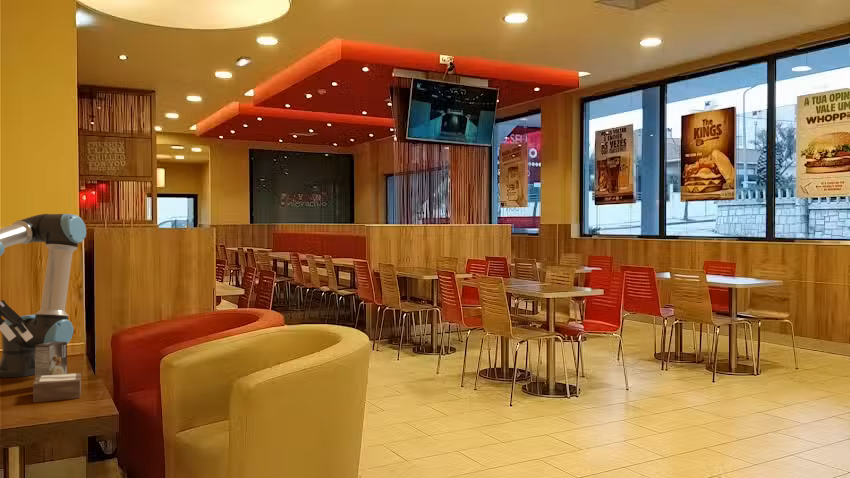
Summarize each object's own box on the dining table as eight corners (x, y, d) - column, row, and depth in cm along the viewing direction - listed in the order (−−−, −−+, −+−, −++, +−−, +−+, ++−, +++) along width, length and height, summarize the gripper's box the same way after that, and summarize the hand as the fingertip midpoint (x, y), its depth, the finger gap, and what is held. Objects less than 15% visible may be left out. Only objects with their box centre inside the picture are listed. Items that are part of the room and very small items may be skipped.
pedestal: (36, 393, 243) (36, 375, 243) (81, 389, 249) (81, 372, 249) (33, 402, 230) (33, 383, 230) (79, 398, 236) (79, 379, 236)
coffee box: (52, 383, 258) (52, 340, 258) (67, 384, 257) (67, 341, 257) (34, 389, 249) (34, 344, 249) (49, 390, 248) (49, 345, 248)
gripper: (-42, 298, 242) (-4, 345, 251) (-12, 297, 227) (27, 346, 236) (-23, 285, 247) (14, 331, 256) (8, 283, 232) (46, 332, 241)
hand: (20, 339), depth 246 cm, fingers open, 13 cm apart
